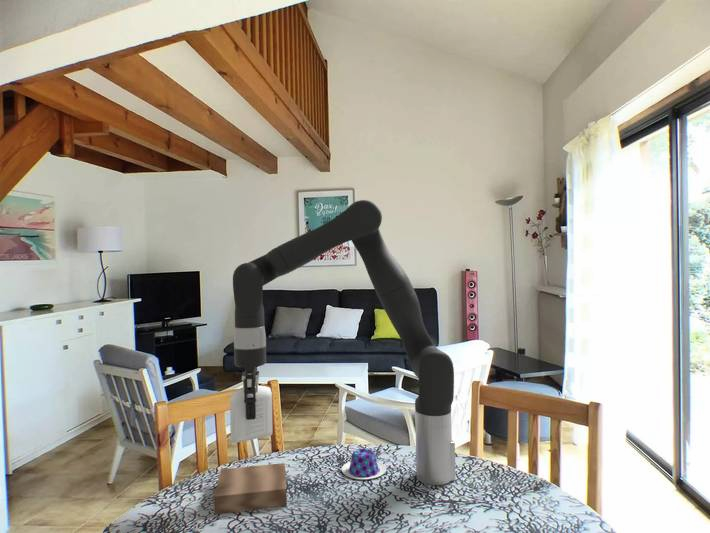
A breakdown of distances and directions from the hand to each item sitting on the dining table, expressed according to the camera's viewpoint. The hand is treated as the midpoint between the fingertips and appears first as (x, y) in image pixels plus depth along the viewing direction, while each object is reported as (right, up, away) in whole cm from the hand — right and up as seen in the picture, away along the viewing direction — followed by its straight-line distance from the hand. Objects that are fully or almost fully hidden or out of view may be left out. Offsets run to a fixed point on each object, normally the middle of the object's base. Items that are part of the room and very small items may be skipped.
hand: (251, 414), depth 108 cm
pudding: (+27, -20, +12) cm, 36 cm away
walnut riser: (0, -19, 0) cm, 19 cm away
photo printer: (0, -6, 0) cm, 6 cm away
